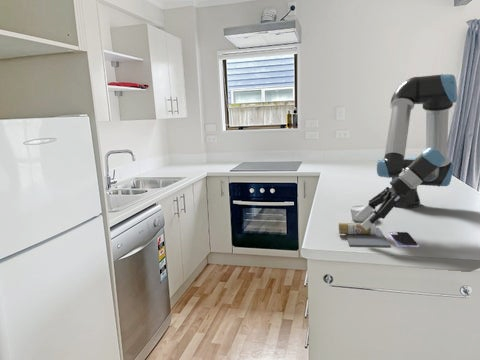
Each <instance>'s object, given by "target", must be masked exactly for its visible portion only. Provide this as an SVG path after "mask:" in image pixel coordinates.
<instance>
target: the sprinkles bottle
mask: <svg viewBox="0 0 480 360" xmlns="http://www.w3.org/2000/svg"><path fill="white" fill-rule="evenodd" d="M362 223H363V222H344V223H343V222H342V223H341V222H339V223H338V233H339V235H345V234H370V235H375V231H376V229H375V228H376V224H375V223H374V224H373V225H372V226H371V227H370V228H369V229H367V230H365V229H364V228H363V227H362V226H361V224H362Z"/></svg>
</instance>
